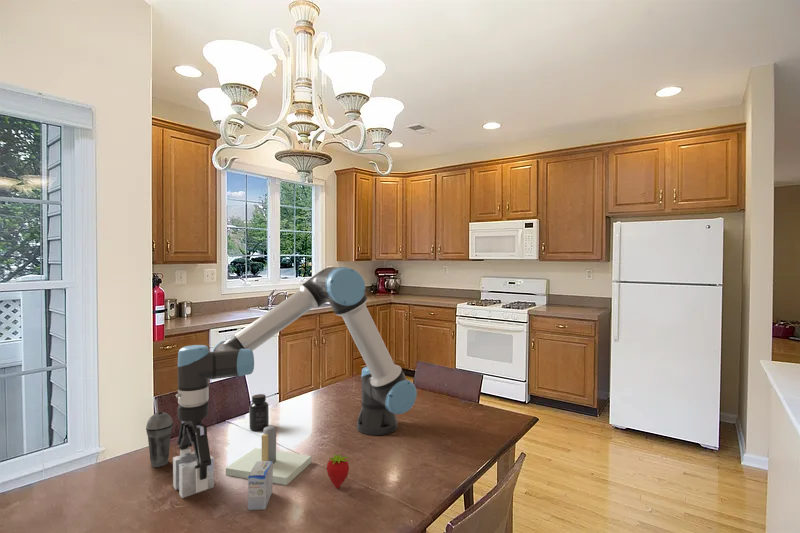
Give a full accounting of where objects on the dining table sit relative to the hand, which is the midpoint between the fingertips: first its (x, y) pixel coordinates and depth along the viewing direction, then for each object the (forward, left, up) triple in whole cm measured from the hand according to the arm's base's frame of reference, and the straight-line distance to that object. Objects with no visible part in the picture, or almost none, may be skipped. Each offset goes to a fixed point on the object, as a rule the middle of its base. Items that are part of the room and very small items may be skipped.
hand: (193, 480), depth 115 cm
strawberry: (-38, -11, -2) cm, 40 cm away
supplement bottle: (+8, -41, -2) cm, 42 cm away
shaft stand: (-14, -15, -2) cm, 21 cm away
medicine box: (-22, +1, -2) cm, 22 cm away
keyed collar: (0, 0, -2) cm, 2 cm away
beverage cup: (+20, -8, -2) cm, 22 cm away
